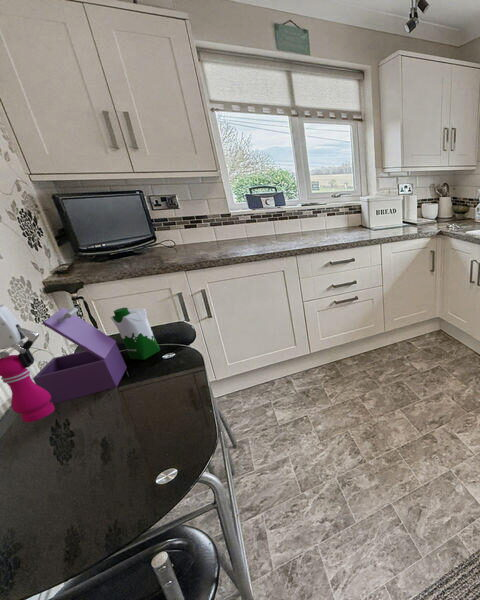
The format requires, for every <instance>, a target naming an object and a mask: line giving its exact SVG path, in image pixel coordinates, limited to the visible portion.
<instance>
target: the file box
mask: <svg viewBox="0 0 480 600" xmlns="http://www.w3.org/2000/svg"><path fill="white" fill-rule="evenodd" d="M127 368H128V366H127V364H126V362H125V360H124V358H123V356H122V353H121V351H120V349H119V347H118V345H117V343H115V344H114V346H113V347H112V349H111V350H110V352H109V353H108V355H107V356H106V358H105V359H104V360H101V359H100V358H98V357H96V356H95V355H93V354H91V353H90V352H88V351H86V350H83V351H77V352H74V353H69V354H64V355H61V356H60V355H59V356H57V357H53V358H51V359H50V360H49V362H48V363H46V364H45V365H44V366H43V367H42V369H41V370H40V371H39V372H37V374H36V375H35V376H33V377H32V381H33V382H34V383H35V384H36V385H38V386H40V387H42V388H44V389H45V390H46V391H48V392H49V394H50V395H51V399H50V401H49V402H51V403H53V405H57V404H60V403H65V402H67V401H72V400H75V399H78V397H79V398H81V397H85V395H86V396H89V395H93V394H96V392H97V393H100V392H104V391H107V390H110V389H114V388H118V385H119V384H120V381H121V380H122V377H123V376H124V374H125V372H126V370H127ZM92 393H93V394H92Z"/></svg>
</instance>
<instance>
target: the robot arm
mask: <svg viewBox="0 0 480 600" xmlns="http://www.w3.org/2000/svg"><path fill="white" fill-rule="evenodd" d="M39 337H40V333H38V332H36V331H32V330H30V329H27V328H23V326H22V325H21V323H20V322H19V320H18V319H17V317H16V316H15V315H14V314H13V313H12V311H11V310H10V309H9V308H8V307H7V306H6V305H5V304H0V350H1V349H6V348H10V347H11V348H12V349H14V350H15V351H17V352H18V353H19V354H17V355H18V357H19V359H20V360H21V362H22V364H23V365H24V367H26V368H27V369H28V368H30V367H31V366H33V364H34V363H35V357H34V356H33V354H32V352H31V350H30V349H31V348H32V347H33V344H34V343H35V342H36V341H37V339H38V338H39ZM25 338H27V339H26V341H24V339H25Z"/></svg>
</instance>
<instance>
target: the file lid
mask: <svg viewBox="0 0 480 600" xmlns="http://www.w3.org/2000/svg"><path fill="white" fill-rule="evenodd" d="M78 312H79V308H77V307H72V308H71V309H70V310H69V309H67V308H66V307H61V308H60V309H59V310H58V311H56V312H55V313H53V314H52V315H50V317H48V318H47V319H45V320H44V321H43V322H42V323H41V325H43V326H45V327H46V328H48V329H50V330H51V331H53V332H55V333H57V334H58V335H59V336H62V337H63V338H65V339H66V340H68V341H69V342H71V343H73V344H75V345H76V346H78V347H80V348H81V349H83V350H84V351H88V352H90V353H91V354H93V355H95V356H96V357H98V358H100V359H101V360H104V359H105V358H106V356H107V355H108V353H109V352H110V350H111V349H112V347H113V346H114V344H117V341H116V340H115V339H113V338H112V337H110V336H109V335H108V334H106V333H104V332H103V331H101V330H99V328H96V327H95V326H94V325H92V324H91V323H89V322H87V321H85V320H84V319H82V318H81V317H80V316H78V315H76V313H78Z"/></svg>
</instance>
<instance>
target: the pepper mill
mask: <svg viewBox="0 0 480 600" xmlns="http://www.w3.org/2000/svg"><path fill="white" fill-rule="evenodd" d="M18 355H19V354H11V355H10V352H8V351H6V350H5V351H4V350H3V351H0V377H1V378H0V379H1V381H2V383H4V384H7V385H8V387H9V388H10V391H11V399H10V405H11V410H12V411H13V412H14V413H16V414H20V418H21V421H23V422H24V423H33V422H37V421H39V420H42V419H45V418H46V417H48V416H50V415H51V414H52V413H53V412H55V410H56V407H55V404H53V403H51V402H49V401H50V399H51V395H50V394H49V392H48V391H46V390H45V389H44V388H42V387H40V386H38V385H36V383H35V382H34V380H33V378H31V373H32V372H31V371H30V368H28V367H27V368H26V367H24V365H23V364H22V362H21V360H20V359H19V357H18Z"/></svg>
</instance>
